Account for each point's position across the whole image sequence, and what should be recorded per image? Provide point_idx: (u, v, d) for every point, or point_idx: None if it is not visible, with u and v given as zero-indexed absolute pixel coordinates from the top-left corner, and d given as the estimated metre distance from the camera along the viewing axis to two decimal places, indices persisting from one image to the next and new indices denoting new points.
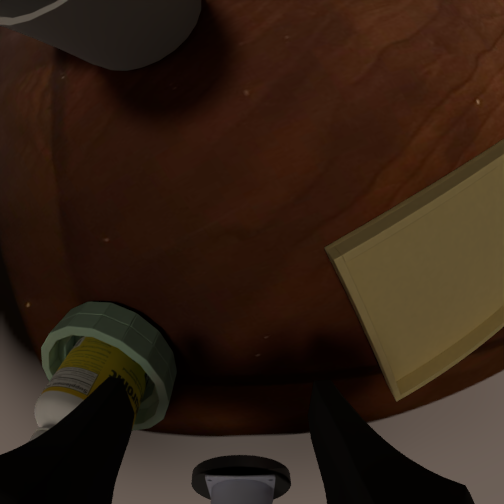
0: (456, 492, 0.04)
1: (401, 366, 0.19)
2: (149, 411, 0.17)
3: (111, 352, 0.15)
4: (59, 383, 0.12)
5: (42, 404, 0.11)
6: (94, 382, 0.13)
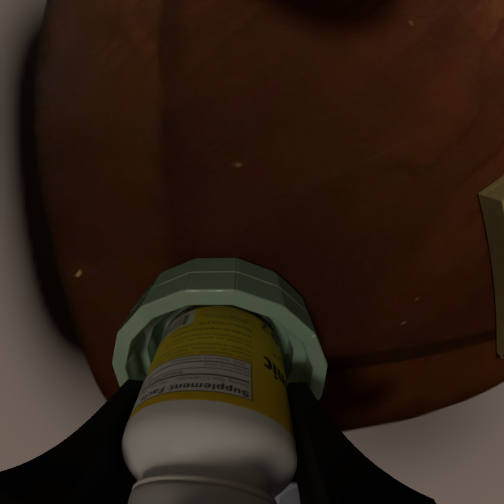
0: None
1: None
2: None
3: (251, 330, 0.11)
4: (186, 385, 0.08)
5: (157, 429, 0.06)
6: (252, 378, 0.08)
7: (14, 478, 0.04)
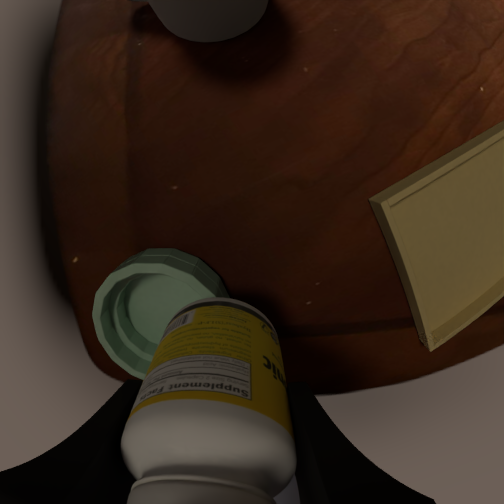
0: None
1: (432, 318, 0.21)
2: None
3: (250, 330, 0.11)
4: (185, 385, 0.08)
5: (156, 428, 0.06)
6: (251, 378, 0.08)
7: (14, 478, 0.04)
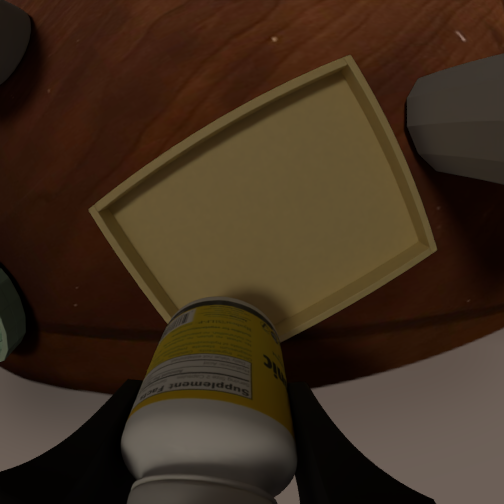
0: None
1: None
2: None
3: (251, 329, 0.11)
4: (186, 384, 0.08)
5: (156, 428, 0.06)
6: (252, 377, 0.08)
7: (14, 478, 0.04)
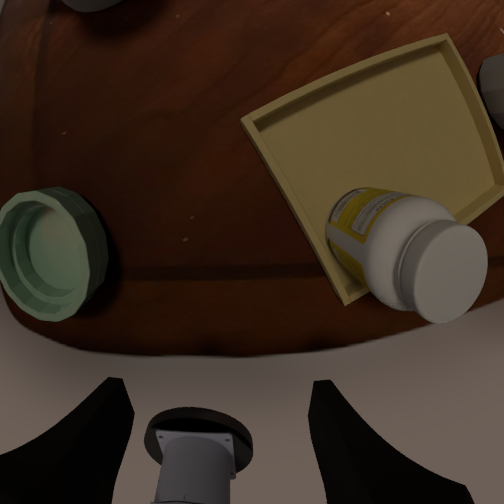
0: (456, 492, 0.04)
1: None
2: None
3: None
4: (405, 195, 0.13)
5: (409, 205, 0.11)
6: None
7: None
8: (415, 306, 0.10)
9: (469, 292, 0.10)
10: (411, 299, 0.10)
